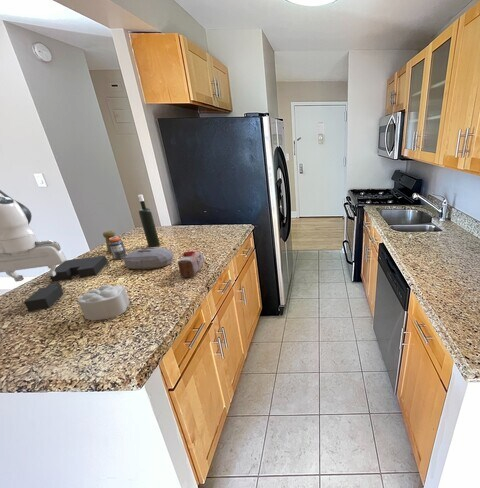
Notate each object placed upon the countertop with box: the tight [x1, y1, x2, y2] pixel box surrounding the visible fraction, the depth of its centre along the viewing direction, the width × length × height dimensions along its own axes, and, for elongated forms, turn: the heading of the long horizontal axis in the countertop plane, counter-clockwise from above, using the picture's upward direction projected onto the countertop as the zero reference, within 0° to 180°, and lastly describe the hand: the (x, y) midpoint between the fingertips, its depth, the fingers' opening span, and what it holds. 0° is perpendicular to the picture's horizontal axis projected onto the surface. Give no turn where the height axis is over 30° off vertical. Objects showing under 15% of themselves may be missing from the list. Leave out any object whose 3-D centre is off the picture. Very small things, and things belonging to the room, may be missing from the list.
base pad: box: [49, 255, 109, 283], centre depth 122 cm, size 16×14×4 cm
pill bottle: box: [108, 236, 128, 261], centre depth 135 cm, size 6×6×11 cm
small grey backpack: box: [123, 246, 174, 270], centre depth 128 cm, size 15×8×20 cm
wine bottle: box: [137, 194, 161, 248], centre depth 147 cm, size 6×6×30 cm
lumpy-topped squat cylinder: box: [76, 284, 131, 321], centre depth 93 cm, size 10×13×9 cm
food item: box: [177, 249, 205, 278], centre depth 121 cm, size 14×8×10 cm, turn 8°
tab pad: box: [23, 281, 64, 312], centre depth 101 cm, size 6×13×4 cm, turn 20°
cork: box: [102, 230, 116, 253], centre depth 145 cm, size 6×6×11 cm
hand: (36, 278), depth 96 cm, fingers open, 8 cm apart
